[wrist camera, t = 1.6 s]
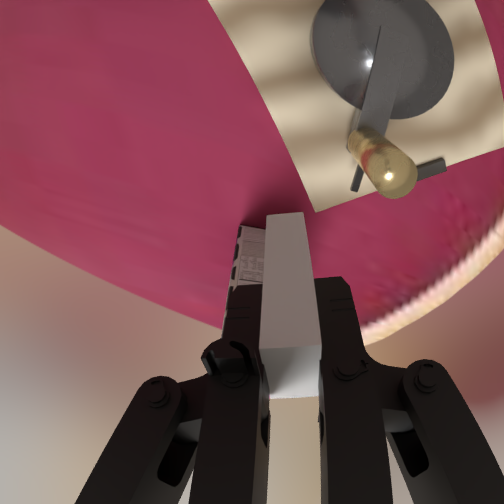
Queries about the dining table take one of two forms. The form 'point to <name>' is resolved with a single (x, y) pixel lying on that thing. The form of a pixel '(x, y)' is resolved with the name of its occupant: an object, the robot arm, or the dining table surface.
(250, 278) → the candy bar box
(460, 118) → the stand
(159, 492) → the robot arm
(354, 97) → the grey round handled piece
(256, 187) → the dining table surface
